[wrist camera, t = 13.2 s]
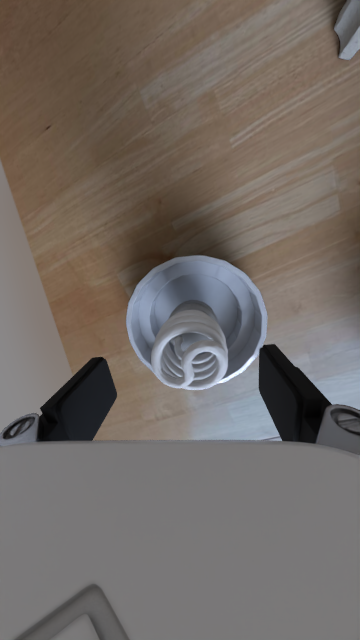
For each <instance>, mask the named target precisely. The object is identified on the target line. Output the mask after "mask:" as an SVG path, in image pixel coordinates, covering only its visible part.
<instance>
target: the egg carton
mask: <svg viewBox="0 0 360 640" xmlns="http://www.w3.org/2000/svg"><path fill="white" fill-rule="evenodd" d="M334 30H335V31H336V33H337V34H338V36H339V39H340V45H341V48H340V53H339V58H342V59H345V60H350V59H351V58H352V57H353V56H354V54H355V53H356V52H357V51H358V50H359V49H360V0H347V2H346V3H345V5H344V6H343V8H342V10H341V11H340V13H339V16H338V19H337V21H336V24H335V27H334Z"/></svg>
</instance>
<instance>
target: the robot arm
mask: <svg viewBox="0 0 360 640" xmlns="http://www.w3.org/2000/svg"><path fill="white" fill-rule="evenodd" d="M259 391H260V394H261V396H262V398H263V400H264V402H265V404H266V407H267V409H268V411H269V413H270V415H271V417H272V419H273V422H274V424H275V426H276V428H277V430H278V432H279V435H280V437H281V439H282V441H264V440H104V441H92V440H93V438H94V436H95V435H96V433H97V431H98V429H99V428H100V426H101V424H102V422H103V421H104V419H105V417H106V415H107V414H108V412H109V410H110V408H111V407H112V405H113V403H114V401H115V400H116V397H117V392H116V389H115V386H114V383H113V379H112V376H111V373H110V370H109V367H108V364H107V361H106V359H104V358H103V357H95V358H92V359H91V360H90V361H89V362H88V363H86V364H85V365H84V366H83V367H82V368H81V369H80V370H79V371H78V372H77V373H76V374H75V375H74V376H73V377H72V378H71V379H70V380H69V381H68V382H67V383H66V384H65V385H64V386H63V387H62V388H60V389H59V390H58V391H57V392H56V393H55V394H54V395H53V396H52V397H51V398H50V399H49V400H48V401H47V402H46V403H45V404H44V405H43V406H42V407H41V408H40V409H41V411H42V413H43V414H42V415H41V416H39V415H38V414H36V413H32V414H28V415H25V416H22V417H20V418H19V419H17V420H15V421H13V422H12V423H10V424H9V425H8V426H7V427H5V428H4V430H3V431H2V432H1V433H0V640H360V410H358V409H355V408H353V407H350V406H346V405H339V404H336V405H332V404H331V403H330V402H329V401H328V400H327V399H326V397H325V396H324V395H323V394H322V393H321V392H320V391H319V390H318V389H317V388H316V387H315V385H314V384H313V383H312V382H311V381H310V380H309V379H308V378H307V377H306V376H305V375H304V373H303V372H302V371H301V370H300V369H299V368H298V367H295V366H294V365H293V364H292V363H291V362H290V361H289V360H288V358H287V357H286V356H285V355H284V354H283V353H282V352H281V351H280V350H279V348H278V347H277V346H276V345H275V344H271V345H263V348H260V349H259Z"/></svg>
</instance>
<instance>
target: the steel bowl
mask: <svg viewBox="0 0 360 640" xmlns="http://www.w3.org/2000/svg"><path fill="white" fill-rule="evenodd" d="M188 300H199V301H202V302H205V303H206V304H207V305H209V306H210V307H211V308H212V310H213V311H214V313H215V315H216V316H217V318H218V322H219V326H220V328H221V330H222V332H223V334H224V336H225V339H226V345H227V349H228V368H227V371H226V373H225V375H224V376H223V378H222V379H221V380H220V381H219V382H218V383H222V382H226V381H228V380H230V379H231V378H233V377H235V376H236V375H238V374H240V373H241V372H243V371H244V370H245V369H246V368H247V367H248V366H249V365H250V364H251V363H252V362H253V360H254V359H255V358H256V357H257V356H258V354H259V349H260V348H261V347H262V345H263V343H264V340H265V338H266V331H267V311H266V308H265V305H264V301H263V298H262V295H261V292H260V291H259V290H258V288H257V287H256V286H255V285H254V283H253V282H252V281H251V279H250V278H249V277H248V275H247V274H246V273H244V272H243V271H241V270H239V269H238V268H236V267H235V266H233V265H232V264H230V263H228V262H227V261H225V260H221V259H217V258H212V257H208V256H204V255H193V256H184V257H176V258H173V259H171V260H169V261H167V262H165V263H163V264H161V265H158V266H156V267H154V268H153V269H152V270H151V271H150V272H149V273H148V274H147V275H146V276H145V277H144V278H143V279H142V280H141V281H140V282H139V283H138V284H137V286H136V288H135V290H134V292H133V294H132V296H131V298H130V301H129V303H128V310H127V319H126V325H127V330H128V335H129V340H130V343H131V345H132V347H133V348H134V350H135V352H136V354H137V355H138V357H139V359H140V360H141V361H142V362H143V363H144V364H145V365H146V366H147V367H148V368H149V369H150V370H151V371H152V372H153V369H152V365H151V353H152V349H153V345H154V342H155V338H156V336H157V334H158V332H159V331H160V329H161V327H162V325H163V324H164V323H165V322H166V321H167V320H168V318H169V316H170V314H171V312H172V311H173V310H174V309H175V308H176V307H177V306H178V305H179V304H181V303H183V302H185V301H188ZM169 345H170V348H171V350H172V351H173V353H174V354H175V355H176V353H175V349H174V345H173V344H172V342H171V341H170V340H169ZM205 353H206V352H201V353H199V354H197V355H201V354H205ZM176 356H177V355H176ZM177 357H178V356H177ZM153 373H154V372H153ZM218 383H217V384H218Z"/></svg>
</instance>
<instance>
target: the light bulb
mask: <svg viewBox="0 0 360 640" xmlns="http://www.w3.org/2000/svg"><path fill="white" fill-rule="evenodd" d="M169 340H170V341H171V342H172V344H173V345H174V349H175V353H176V355H177V356H178V357H177V356H176V355H175V354H174V353H173V351H172V350H171V348H170V345H169ZM201 352H206V353H205V354H201V355H197V354H199V353H201ZM151 365H152V369H153V372H154V374H155V375H156V376H157V378H158V379H159V380H160V381H162V382H163V383H164V384H166V385H168V386H170V387H174V388H184V389H189V390H201V389H206V388H209V387H211V386H213V385H215V384H217V383H218V382H219V381H220V380H221V379H222V378H223V376H224V375H225V373H226V371H227V368H228V349H227V345H226V339H225V336H224V334H223V332H222V330H221V328H220V326H219V322H218V318H217V316H216V315H215V313H214V311H213V310H212V308H211V307H210V306H209V305H207V304H206V303H205V302H202V301H199V300H188V301H185V302H183V303H181V304H179V305H178V306H177V307H176V308H175V309H174V310H173V311H172V312H171V314H170V316H169V318H168V320H167V321H166V322H165V323H164V324H163V325H162V327H161V329H160V331H159V332H158V334H157V336H156V338H155V342H154V345H153V349H152V353H151Z"/></svg>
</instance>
